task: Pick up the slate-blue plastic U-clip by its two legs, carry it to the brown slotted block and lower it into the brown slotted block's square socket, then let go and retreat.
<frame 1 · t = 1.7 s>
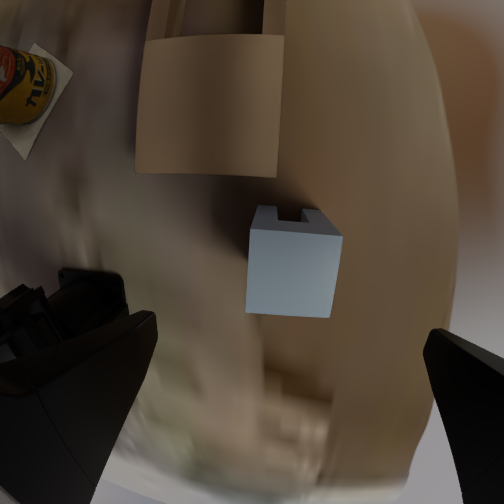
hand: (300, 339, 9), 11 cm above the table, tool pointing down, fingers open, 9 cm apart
clip: (286, 237, 19), on the table
brown slotted block: (222, 28, 15), on the table
condiment: (30, 98, 17), on the table
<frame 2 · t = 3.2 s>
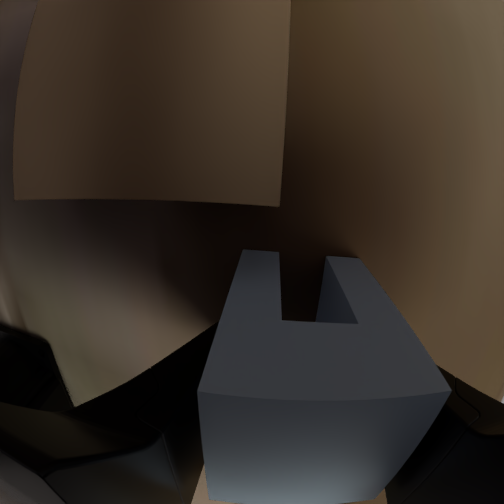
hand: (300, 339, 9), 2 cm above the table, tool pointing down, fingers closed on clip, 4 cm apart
clip: (296, 306, 11), on the table, touching gripper
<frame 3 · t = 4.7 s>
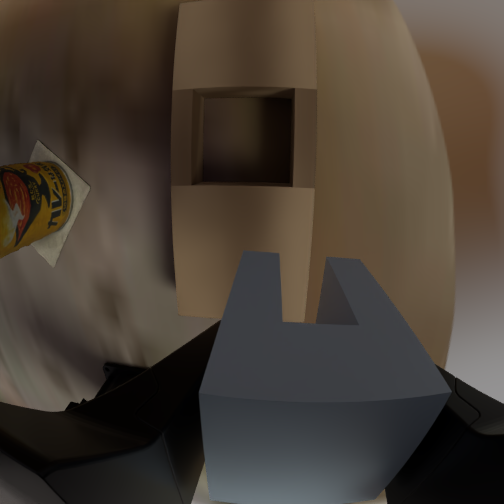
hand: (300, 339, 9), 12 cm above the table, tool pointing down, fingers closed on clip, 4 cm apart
clip: (296, 307, 11), point 10 cm above the table, touching gripper
brown slotted block: (246, 154, 18), on the table
condiment: (45, 204, 20), on the table
when the fingers open (4 cm above the table, at t = 6.4 s): clip drops 2 cm, resting in brown slotted block.
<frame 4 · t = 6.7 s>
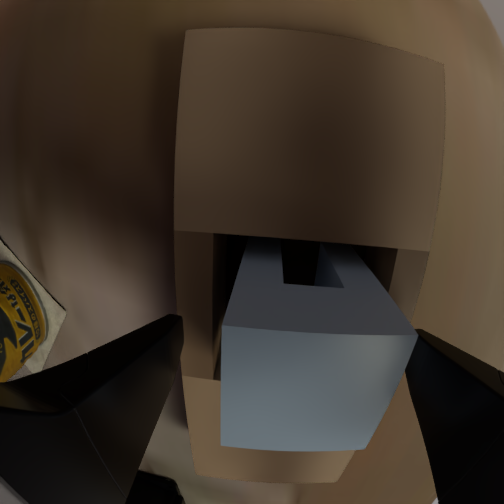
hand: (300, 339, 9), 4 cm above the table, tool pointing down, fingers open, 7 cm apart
clip: (294, 286, 12), resting in brown slotted block
brown slotted block: (291, 307, 13), on the table
condiment: (15, 309, 15), on the table
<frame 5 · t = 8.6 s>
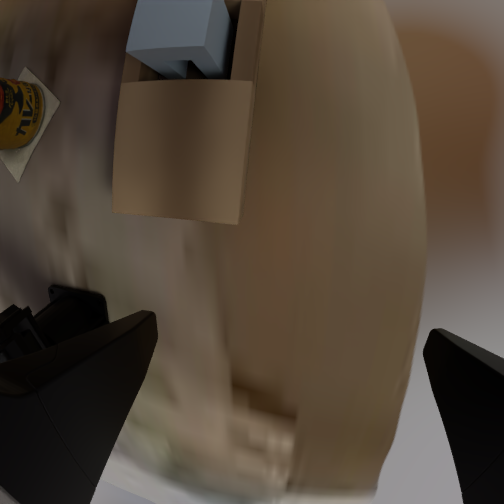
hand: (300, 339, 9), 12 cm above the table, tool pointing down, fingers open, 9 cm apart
clip: (200, 53, 17), resting in brown slotted block
brown slotted block: (198, 65, 17), on the table
condiment: (21, 122, 19), on the table
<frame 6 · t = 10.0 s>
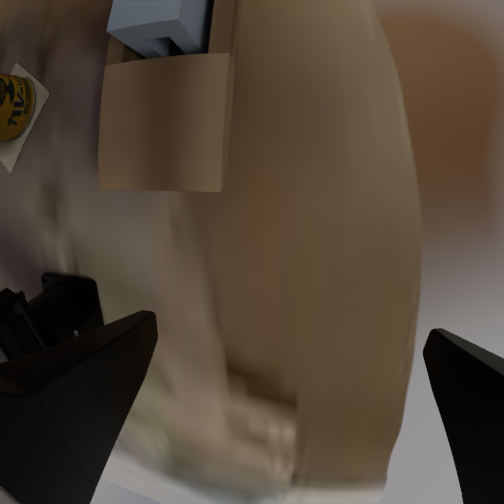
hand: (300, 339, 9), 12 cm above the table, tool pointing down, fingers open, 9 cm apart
clip: (181, 35, 16), resting in brown slotted block
brown slotted block: (179, 47, 16), on the table
condiment: (13, 116, 18), on the table
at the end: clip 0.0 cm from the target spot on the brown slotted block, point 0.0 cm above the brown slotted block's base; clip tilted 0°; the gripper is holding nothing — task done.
